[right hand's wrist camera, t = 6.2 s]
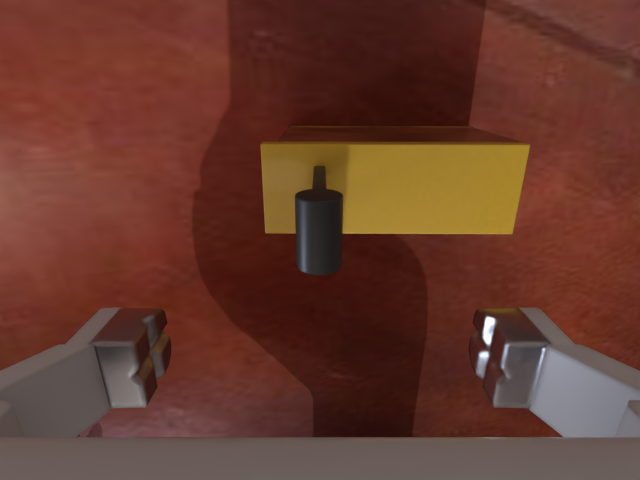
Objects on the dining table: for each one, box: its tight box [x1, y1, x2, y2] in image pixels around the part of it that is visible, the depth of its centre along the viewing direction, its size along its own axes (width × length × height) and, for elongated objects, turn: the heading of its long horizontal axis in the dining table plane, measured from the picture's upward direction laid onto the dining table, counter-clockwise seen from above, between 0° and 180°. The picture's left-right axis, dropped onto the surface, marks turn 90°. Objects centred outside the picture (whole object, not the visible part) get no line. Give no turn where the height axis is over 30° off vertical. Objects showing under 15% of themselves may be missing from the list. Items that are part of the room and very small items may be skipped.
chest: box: [278, 126, 519, 142], centre depth 29 cm, size 15×6×9 cm, turn 90°
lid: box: [261, 142, 530, 275], centre depth 21 cm, size 16×6×9 cm, turn 90°
